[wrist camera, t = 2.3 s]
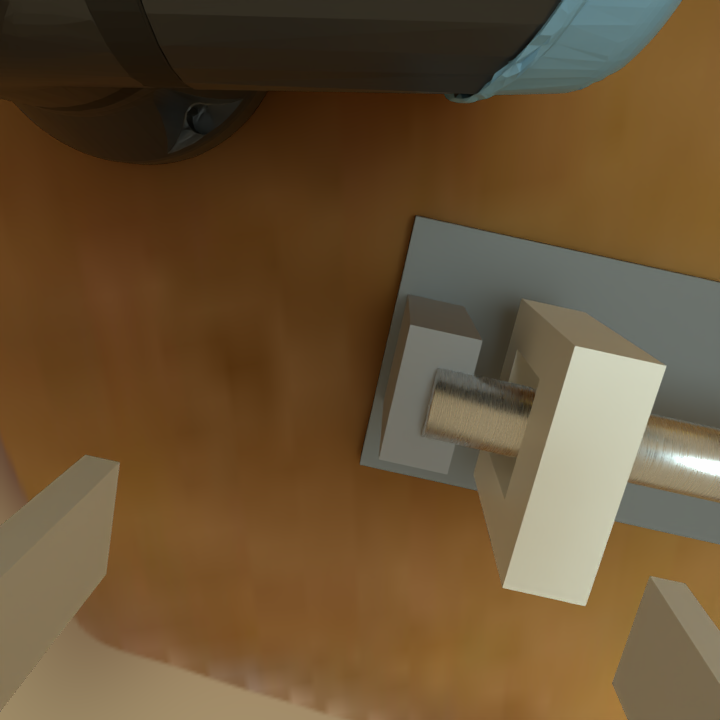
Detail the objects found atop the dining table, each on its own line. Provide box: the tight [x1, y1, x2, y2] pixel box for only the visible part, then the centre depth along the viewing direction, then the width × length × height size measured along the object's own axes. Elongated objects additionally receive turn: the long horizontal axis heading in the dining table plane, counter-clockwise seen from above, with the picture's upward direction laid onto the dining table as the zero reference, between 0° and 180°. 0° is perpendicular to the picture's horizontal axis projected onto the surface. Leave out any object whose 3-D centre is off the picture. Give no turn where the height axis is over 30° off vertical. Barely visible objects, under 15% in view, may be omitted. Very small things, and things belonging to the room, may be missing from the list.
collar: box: [474, 299, 666, 606], centre depth 28 cm, size 3×9×10 cm, turn 168°
